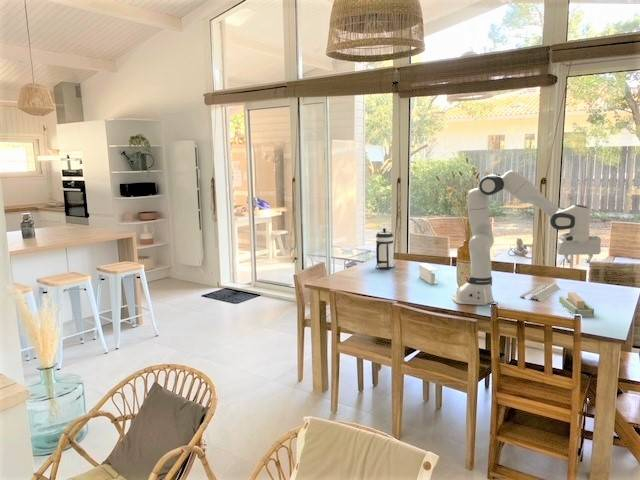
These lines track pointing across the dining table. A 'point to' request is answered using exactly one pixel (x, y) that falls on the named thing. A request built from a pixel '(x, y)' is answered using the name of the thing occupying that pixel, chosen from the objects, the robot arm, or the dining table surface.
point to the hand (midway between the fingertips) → (578, 262)
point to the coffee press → (384, 249)
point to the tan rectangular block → (576, 300)
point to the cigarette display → (427, 273)
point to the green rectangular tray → (587, 310)
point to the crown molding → (542, 291)
